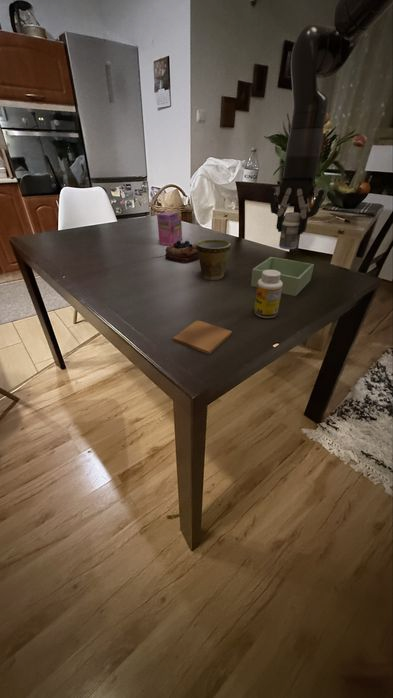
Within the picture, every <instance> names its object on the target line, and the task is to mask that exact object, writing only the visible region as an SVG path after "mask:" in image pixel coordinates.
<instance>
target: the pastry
mask: <svg viewBox="0 0 393 698" xmlns="http://www.w3.org/2000/svg"><path fill="white" fill-rule="evenodd" d="M196 244H197V243H193V244H192V243H191V242H190V240H185V241H183V242H182V240H178V241H177V242H176V243H174V244H173V245H171V246H166V248H165V254H164V255H165V260H168V261H171V262H176V263H182V264H189V263H192V262H195V261H197V260H198V261H199V256H198V252H197V245H196Z"/></svg>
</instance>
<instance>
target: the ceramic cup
mask: <svg viewBox="0 0 393 698" xmlns="http://www.w3.org/2000/svg"><path fill="white" fill-rule="evenodd" d="M195 244H196V245H197V252H198V256H199V259H198V261H199V265H200V273H201V276H202V278H203V279H205V280H208V281H219V280H221V279H222V278H224V276H225V273H226V267H227V263H228V260H229V259H228V258H229V255H230V251H231V242H230V241H229V240H225V239H219V238H208V239H207V238H206V239H201V240H199V241H197V242H196V243H195Z"/></svg>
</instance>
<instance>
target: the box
mask: <svg viewBox="0 0 393 698" xmlns="http://www.w3.org/2000/svg"><path fill="white" fill-rule="evenodd" d="M156 215H157V216H156V218H157V230H158V242H159V243H158V245H160V246H166V247H169V246H171V245H173V244H174V243H176V242H177V241H178V240H180V241H182V240H183V228H182V227H183V225H182V211H181V210H178V209H169V210H166V211H163V212H160V213H157V214H156Z"/></svg>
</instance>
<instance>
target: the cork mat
mask: <svg viewBox="0 0 393 698" xmlns="http://www.w3.org/2000/svg"><path fill="white" fill-rule="evenodd" d="M231 335H233V331H232V330H230V329H226V328H223V327H220V326H218V325H214V324H212V323H208V322H205V321H201V320H199V319H196V320H195V321H193V322H192V323H191V324H189V325H188V326H187V327H186V328H184V329H183V330H181V331H180V332H178V333H177V334H176V335H174V336H173V337H172V341H173V342H174V343H175V342H176V343H177V344H180V345H182V346H185V347H188V348H191V349H193V350H196V351H199V352H201V353H203V354H206V355H208V356H209V355H211V354H212V353H213V352H215V350H216V349H218V348H219V347H220V346H221V345H222V344H223V343H224V342H226V340H228V339H229V337H230V336H231Z"/></svg>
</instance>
